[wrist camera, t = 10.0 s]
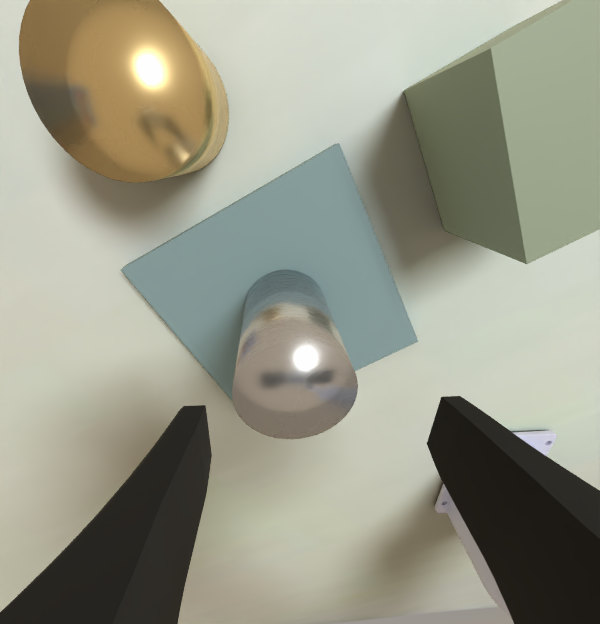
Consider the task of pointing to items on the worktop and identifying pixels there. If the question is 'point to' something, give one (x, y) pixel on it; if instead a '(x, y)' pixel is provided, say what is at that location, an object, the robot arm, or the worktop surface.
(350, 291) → the parts mat
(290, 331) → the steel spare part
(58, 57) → the cylinder
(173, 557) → the robot arm
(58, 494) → the worktop surface
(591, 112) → the block
